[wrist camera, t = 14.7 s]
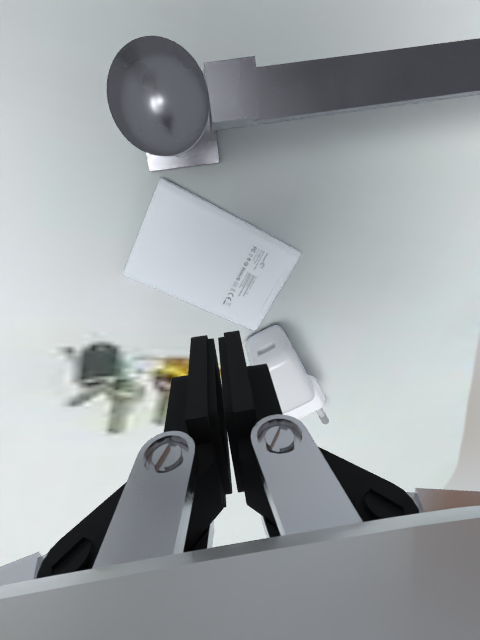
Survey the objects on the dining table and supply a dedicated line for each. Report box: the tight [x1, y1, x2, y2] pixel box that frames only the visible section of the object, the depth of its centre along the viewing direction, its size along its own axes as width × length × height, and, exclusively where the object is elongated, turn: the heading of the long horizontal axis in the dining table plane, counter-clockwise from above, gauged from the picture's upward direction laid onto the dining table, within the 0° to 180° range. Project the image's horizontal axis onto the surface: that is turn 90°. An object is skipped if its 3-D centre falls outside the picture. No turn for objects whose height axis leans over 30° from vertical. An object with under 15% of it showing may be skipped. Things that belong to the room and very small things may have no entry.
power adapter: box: [246, 325, 329, 424], centre depth 30 cm, size 11×5×6 cm, turn 28°
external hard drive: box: [122, 177, 301, 331], centre depth 27 cm, size 2×8×12 cm
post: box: [146, 114, 219, 171], centre depth 18 cm, size 5×5×9 cm
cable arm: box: [107, 36, 480, 157], centre depth 15 cm, size 26×4×4 cm, turn 97°
